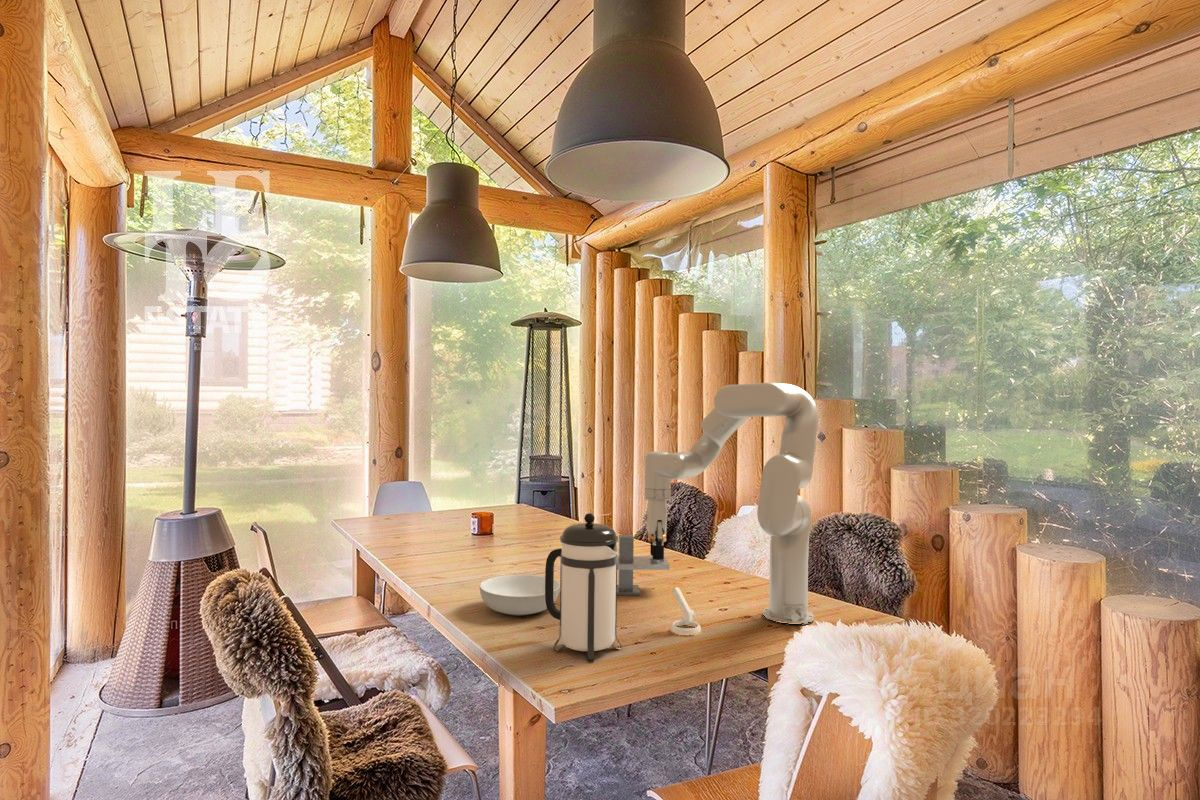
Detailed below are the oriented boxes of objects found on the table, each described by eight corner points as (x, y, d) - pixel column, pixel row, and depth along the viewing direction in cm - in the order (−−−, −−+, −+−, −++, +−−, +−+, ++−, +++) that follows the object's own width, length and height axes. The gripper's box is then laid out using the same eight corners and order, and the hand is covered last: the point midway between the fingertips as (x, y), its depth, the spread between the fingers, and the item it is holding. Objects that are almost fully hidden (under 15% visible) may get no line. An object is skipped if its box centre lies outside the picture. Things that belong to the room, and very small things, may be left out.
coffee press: (619, 636, 158) (620, 507, 158) (623, 662, 142) (625, 519, 142) (544, 636, 157) (546, 507, 157) (540, 662, 141) (542, 518, 141)
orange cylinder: (648, 570, 194) (649, 535, 194) (646, 565, 199) (647, 531, 199) (666, 570, 194) (667, 535, 194) (664, 565, 199) (664, 532, 199)
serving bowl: (483, 626, 164) (484, 597, 164) (475, 601, 184) (476, 576, 184) (567, 620, 170) (567, 592, 170) (550, 596, 190) (551, 572, 190)
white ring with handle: (659, 599, 170) (683, 585, 169) (683, 644, 165) (707, 630, 164) (650, 601, 163) (675, 586, 162) (675, 648, 159) (700, 633, 157)
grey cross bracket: (669, 596, 191) (669, 539, 191) (612, 596, 191) (613, 539, 191) (664, 586, 201) (665, 532, 201) (610, 586, 201) (611, 532, 201)
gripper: (641, 490, 205) (641, 551, 205) (647, 498, 188) (647, 564, 188) (666, 490, 205) (666, 551, 205) (674, 498, 188) (674, 564, 188)
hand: (657, 556), depth 196 cm, fingers open, 4 cm apart
